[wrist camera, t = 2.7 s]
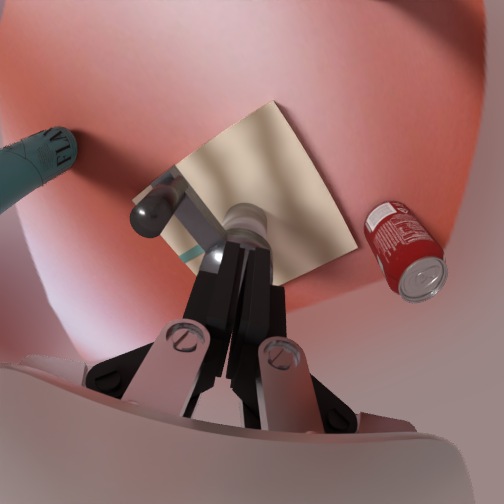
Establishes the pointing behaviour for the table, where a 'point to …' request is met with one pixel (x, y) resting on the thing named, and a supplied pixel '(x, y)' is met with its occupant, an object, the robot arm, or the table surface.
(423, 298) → the soda can
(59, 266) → the table surface
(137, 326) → the table surface
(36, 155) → the beverage bottle
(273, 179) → the square base with post
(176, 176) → the crank handle
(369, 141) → the table surface
